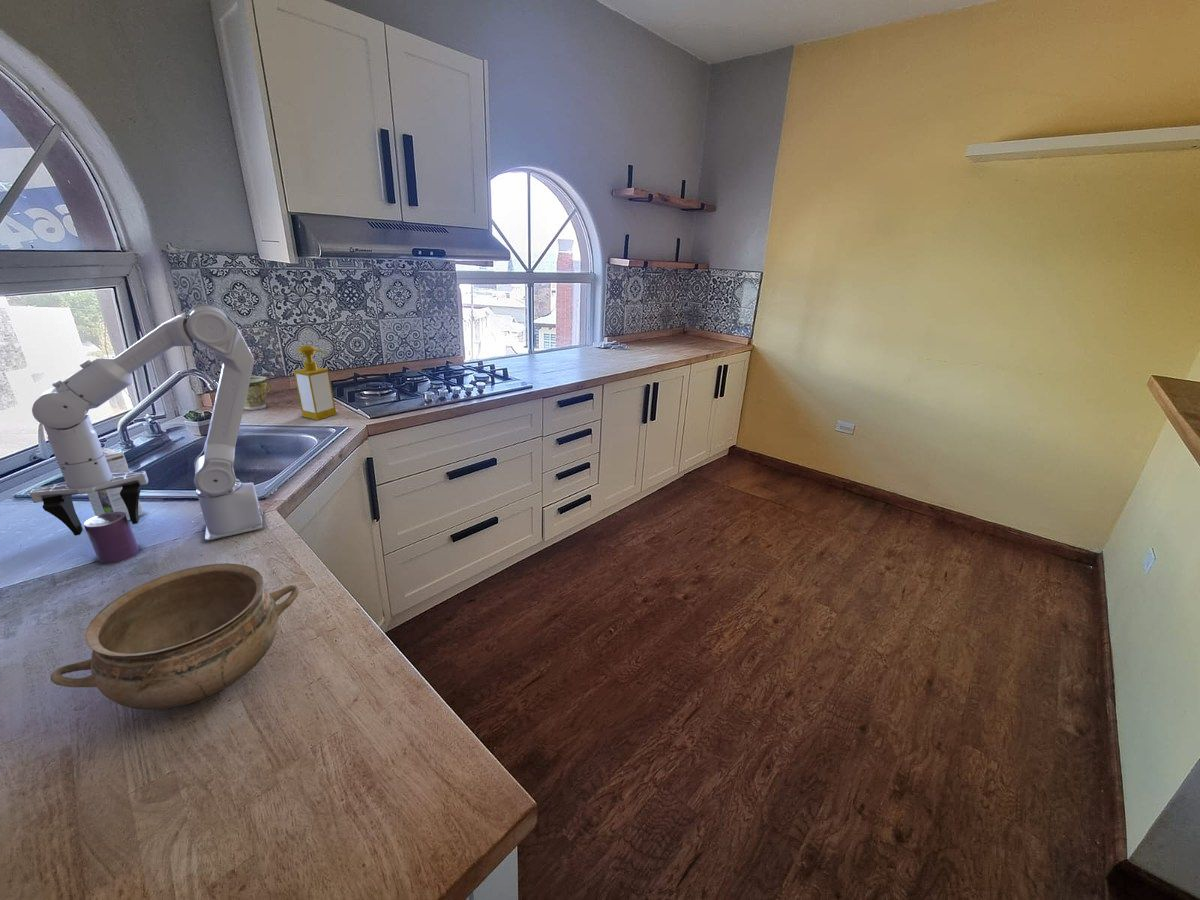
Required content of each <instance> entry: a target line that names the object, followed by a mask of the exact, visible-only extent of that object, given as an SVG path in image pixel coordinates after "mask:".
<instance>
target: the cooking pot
mask: <svg viewBox="0 0 1200 900" xmlns="http://www.w3.org/2000/svg"><path fill="white" fill-rule="evenodd" d="M264 583H265V582H264V578H263V575H262V574H261V573H260V571H258V569H257V570H256V569H255V568H254V567H252V566H248V565H246V564H240V563H229V562H228V563H227V562H225V563H224V562H223V563H211V564H204V565H199V566H198V565H197V566H193V567H189V568H185V569H179V570H177V571H173V572H171V573H166V574H165V575H161V576H159V577H156V578H154V579H152V580H149V581H147V582H144V583H142V584H141V585H138V586H136V587H134V588H132V589H130V590H129V591H127V592H126V593H123V594H122V595H119V596H118V597H117V598H116V599H114V600H113V601H111V602H110V603H108V604H107V605H106V606H105V607H103V608H102V610H100V611H99V612H98V613H97V614H96V615H95V616H94V618H92V620H91V621H90V623H89V624H88V626H87V628H86V631H85V635H84V637H85V642H86V644H87V646H88V647H89V649H91V650H92V652H91V658H89V659H86V660H82V661H79V662H74V663H70V664H67V665H63V666H60V667H57V668H56V669H54V671H52V673H51V674H50V681H51V682H52V683H53V684H55V685H56V686H61V687H66V688H97V689H98V691H99V692H100V693H101V694H102V695H103V696H104V697H105V698H107V699H109V700H110V701H112V702H114V703H115V704H117V705H119V706H122V707H127V708H131V709H135V710H146V711H147V710H148V711H154V710H155V711H156V710H167V709H172V708H177V707H182V706H185V705H188V704H192V703H196V702H199V701H201V700H205V698H208V697H211V696H213V695H215V694H216V693H219V692H221V691H223V690H224V689H226V688H228V687H230V686H231V685H233V684H234V683H236V682H238V681H239V680H240V679H242V678H243V677H244V676H246V675H247V674H248V673H249V672H250V671H251V670H252V669H253V668H255V667H256V666H257V665H258V664H259V662H260V661H262V659H263V658H264V657H265V656H266V654H267V652H269V650H270V648H271V646H272V645H273V642H274V640H275V638H276V635H277V632H278V630H279V621H280V615H281V614H282V613H283V612H285V610H286V609H288V608H289V607H290V606H291V605H293V603H294V602H295V600H296V599H297V598H298V595H299V593H300V589H299V586H297V585H295V584H291V585H287V586H285V587H283V588H281V589H278V590H275V591H271V592H269V591H268V590H267V589H266V588H265V586H264ZM289 593H290V594H289ZM287 594H289V596H288V597H287V598H286V599H285V600H284V601H282V602H281V603H276V602H277V601H278V600H280V599H281V598H282V597H284V596H285V595H287ZM87 670H88V671H90V670H91V674H90V675H88V676H83V677H77V678H75V677H67V676H63V675H65V674H69V673H73V672H80V671H87Z"/></svg>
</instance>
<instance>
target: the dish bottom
mask: <svg viewBox="0 0 1200 900" xmlns="http://www.w3.org/2000/svg"><path fill="white" fill-rule="evenodd" d="M139 550H140V547H139V545H138V542H137V540H136V537H135V538H134V540H133V541H132V542H131V543H129V544H127V545H125V546H123V547H120V548H117V549H114V550H109V551H96V550H94V549H93V551H94V553H95V554H94V555H95V557H96V558H97V560H98V563H101V564H110V563H116V562H121V561H123V560H126V559H129V558H131V557H132V556H134V555H136V554H137V553H138V552H139Z"/></svg>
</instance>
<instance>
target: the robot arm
mask: <svg viewBox="0 0 1200 900" xmlns="http://www.w3.org/2000/svg"><path fill="white" fill-rule="evenodd" d="M194 341H195V342H197V343H199V344H200V345H201V346H203V347H205V348H207V349H208V350H210V351H212V353H213V354H214V355H215V356H216V357H217V358H218V359H219V360H220V362H221V363H222V366H221V370H220V373H219V379H218V384H217V389H216V393H215V399H214V403H213V407H212V412H211V416H210V421H209V426H208V431H207V435H206V439H205V441H204V445H203V449H202V451H201V453H200V454H199V455H198V456H196V458H195V459H194V462H193V468H194V476H193V477H194V478H193V484H194V487H195V488H196V489H195V493H196V496H197V499H198V503H199V505H200V509H201V512H202V515H203V519H204V522H205V532H204V541H205V542H209V541H213V540H217V539H221V538H226V537H227V538H228V537H230V536H235V535H239V534H240V535H241V534H244V533H249V532H253V531H257V530H262V529H263V528H264V527H263V517H262V516H263V515H264V514H263V509H262V506H260V502H259V498H258V494H257V490H256V486H255V483H254V482H241V480H240V479H238V477H236V473H235V469H234V464H235V463H234V462H235V454H236V445H237V439H238V436H239V431H240V427H241V424H242V418H243V414H244V410H245V409H244V405H245V401H246V396H247V392H248V387H249V383H250V378H251V376H252V373H253V369H254V364H255V357H254V355H253V354H252V351H251V350H250V348H249V345H248V344H247V342H246V340H245V338H244V337H243V335H242V333H241V331H240V328H238V325H237V324H236V322H235V321H234V320H233V319H232V318H231V317H230V316H229V315H228V314H227V313H226V312H225V311H224V310H223V309H221V308H220V307H219V306H216V305H214V304H209V303H203V304H198V305H197V304H196V305H194V306H193V307H192V308H190V310H189V311H188V313H187V315H186V312H185V311H184V312H182V313H180V314H177V315H175V316H174V317H172V318H170V319H168V320H167V321H165V322H164V321H163V322H162V323H161V324H160V325H159V326H157V327H155V328H154V329H153V330H151V331H150V332H149V333H147V334H146V335H144V336H143V337H142V338H140V339H139V340H138V341H136V342H135V343H133V344H132V345H130V346H129V347H128V348H126V349H125V350H123V351H122V352H121V353H120V354H118V355H117V356H115V357H113V358H112V357H111V358H107V357H97V358H95V359H94V360H92V361H91V360H90V359H86V360H84V361H82V362H81V363H80V364H79V367H80V369H79V370H77V371H76V372H74V373H72V374H71V375H70V376H68V377H67V378H65V379H64V380H62V381H61V379H57V380H56V381H54V382H53V383H52V384H51V385H52V387H51V388H49V389H47V390H45V391H44V392H43V393H42V394H41V395H40V396H39V397H38V398H37V399H35V401H34V403H33V405H32V407H31V413H32V416H33V418H34V419H35V420H36V421H37V422H38V423H39V424H41V425H43V429H44V431H45V433H46V436H47V440H48V442H49V445H50V447H51V450H52V453H53V455H54V457H55V460H56V462H57V465H58V467H59V470H60V472H61V474H62V477H63V479H64V481H62V482H58V483H57V482H56V483H53V484H49V485H45V486H40V487H34V488H32V489H31V490H30V492H29V495H30V498H31V500H32V502H33V504H38V503H43V504H42V507H41V508H42V509H43V510H44V511H45V512H47V513H49V514H51V515H52V516H54V517H55V518H57V519H58V520H59V521H61V522H62V523H63V524H64V525H66V527H67V528H68V529H69V530H70V532H71V533H72V534H73V535H74V537H75V536H80V535H81V534H82V532H83V530H84V529H83V525H82V522H81V520H80V518H79V517H78V514H77V512H76V509H75V506H74V502H73V498H72V496H77V495H87V493H93V492H95V491H101V490H107V489H114V488H120V487H123V488H122V490H121V492H120V496H121V497H122V499H123V501H124V503H125V505H126V507H127V509H128V513H129V516H130V520H129V521H130V523H131V524H132V525H137V524H139V521H140V516H139V515H138V502H139V501H140V495H141V490H142V487H143V486H145V485H148V483H149V477H148V474H147V471H146V470H143V471H135V472H130V473H115V474H111V471H110V469H109V466H108V463H107V460H106V458H105V455H104V453H103V450H102V449H103V447H102V445H101V442H100V438H99V436H98V433H97V431H96V429H95V428H94V427H93V424H92V421H91V419H90V415H89V414H87V413H89V410H92V409H97V408H99V407H100V406H102V405H104V404H105V403H107V402H108V401H109V400H110V399H112V398H114V397H115V396H116V395H118V394H119V393H121V392H122V391H123V390H125V389H127V388H128V387H129V386H131V385H132V384H133V378H132V373H134V372H135V371H137V370H138V369H140V368H142V367H144V366H145V365H147V364H148V363H150V362H151V361H153V360H155V359H156V358H157V357H159V356H161V355H162V354H164V353H165V352H167V351H169V350H170V349H172V348H174V347H193V346H194Z"/></svg>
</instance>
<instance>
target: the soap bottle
mask: <svg viewBox="0 0 1200 900" xmlns="http://www.w3.org/2000/svg"><path fill="white" fill-rule="evenodd" d="M297 351H298V352H300V354H301V356H305V361H304V362H303V367H304V368H300V369H294V370H293V376H294V379H295V385H296V389H297V390H296V391H297V394H298V400H299V405H300V409H301V415H302V417H303V418H307V419H312V420H316V421H319V420H322V419H326V418H329V417H331V416H335V415H337V409H336V403H335V399H334V392H333V387H332V381H331V377H330V376H331V375H330V371H329V368H324V367H319V366H318V365H317V361H315V360H313V358H312V356H313V355H316V353H315V352H319V353H322V354H324V355H328V353H327V352H326V351H323V350H321V349H317V348H316V347H315V346H313V345H308V344H307V345H303V346H300V347H298V349H297Z"/></svg>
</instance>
